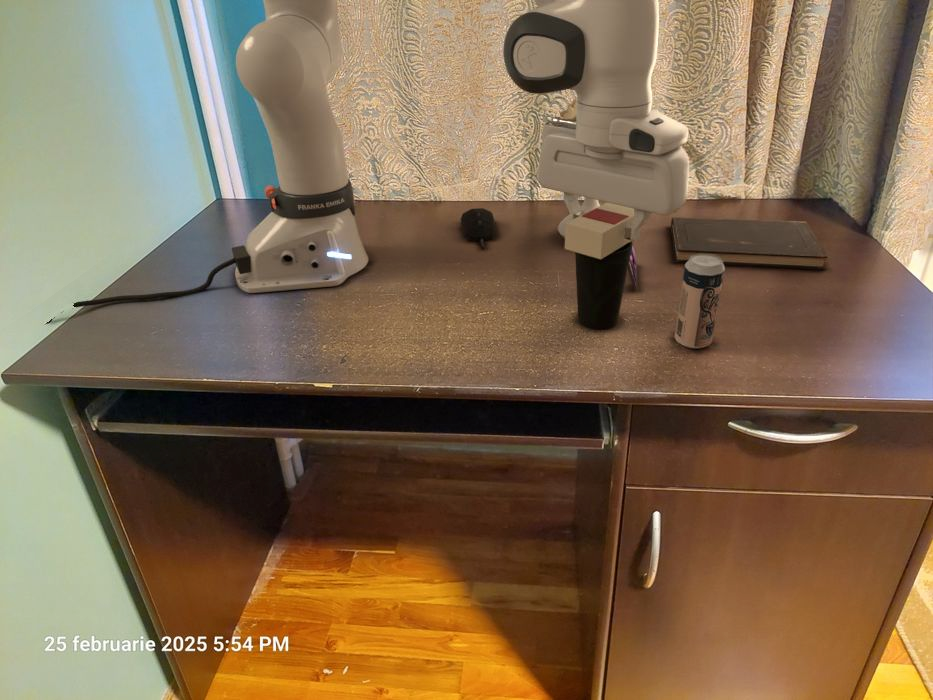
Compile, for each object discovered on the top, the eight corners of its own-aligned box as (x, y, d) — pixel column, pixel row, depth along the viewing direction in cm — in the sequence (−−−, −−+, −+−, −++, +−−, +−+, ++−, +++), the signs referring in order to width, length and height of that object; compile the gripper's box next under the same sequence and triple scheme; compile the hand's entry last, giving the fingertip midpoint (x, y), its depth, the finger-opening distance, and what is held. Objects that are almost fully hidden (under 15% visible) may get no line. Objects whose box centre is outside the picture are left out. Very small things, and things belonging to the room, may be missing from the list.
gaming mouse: (465, 250, 119) (464, 229, 117) (460, 220, 131) (459, 201, 129) (500, 247, 119) (500, 226, 117) (491, 218, 132) (491, 199, 130)
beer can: (705, 354, 87) (720, 270, 80) (669, 345, 89) (681, 263, 83) (715, 337, 90) (730, 256, 84) (680, 329, 92) (692, 249, 86)
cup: (591, 338, 91) (597, 258, 85) (560, 315, 97) (563, 238, 91) (636, 324, 94) (644, 245, 88) (602, 303, 100) (608, 227, 94)
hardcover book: (824, 269, 107) (827, 256, 105) (675, 262, 111) (677, 249, 110) (802, 232, 120) (805, 220, 119) (670, 227, 124) (672, 215, 123)
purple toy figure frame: (630, 250, 99) (630, 228, 107) (596, 259, 101) (598, 237, 109) (641, 289, 102) (640, 265, 110) (608, 297, 104) (609, 273, 112)
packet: (600, 259, 84) (602, 232, 82) (564, 248, 88) (565, 222, 86) (640, 235, 91) (643, 209, 89) (605, 226, 94) (607, 201, 92)
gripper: (528, 119, 85) (527, 221, 93) (676, 142, 73) (661, 258, 81) (557, 110, 89) (554, 209, 96) (702, 130, 77) (685, 242, 84)
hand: (604, 231), depth 88 cm, fingers open, 7 cm apart
